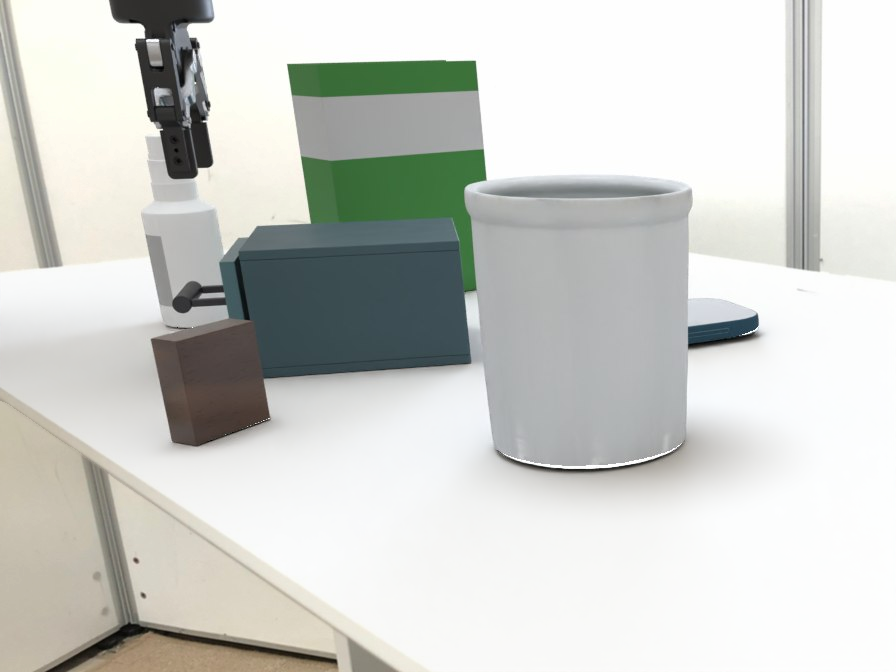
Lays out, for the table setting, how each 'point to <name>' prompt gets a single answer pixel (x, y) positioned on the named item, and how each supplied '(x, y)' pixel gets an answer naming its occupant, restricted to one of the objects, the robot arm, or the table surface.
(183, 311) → the drawer
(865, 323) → the table surface
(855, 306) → the table surface
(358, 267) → the cabinet
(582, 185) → the utensil holder
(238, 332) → the walnut board
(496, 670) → the table surface
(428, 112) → the green cereal box
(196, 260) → the spray bottle
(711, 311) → the external hard drive
